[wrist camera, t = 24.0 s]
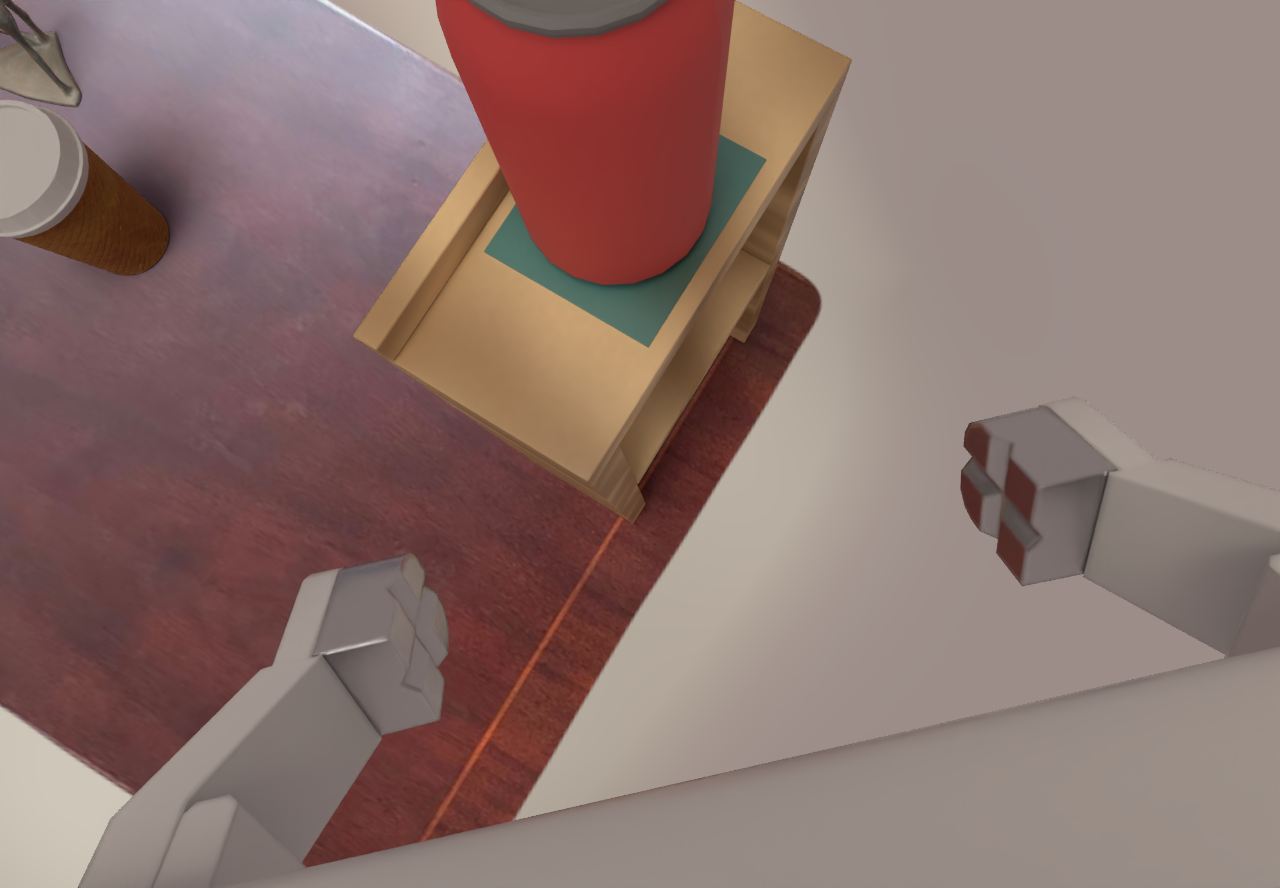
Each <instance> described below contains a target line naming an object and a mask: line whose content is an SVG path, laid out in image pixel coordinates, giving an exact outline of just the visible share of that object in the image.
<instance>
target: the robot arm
mask: <svg viewBox="0 0 1280 888" xmlns="http://www.w3.org/2000/svg"><path fill="white" fill-rule="evenodd" d="M964 447H965V448H966V450H967V451H968V452H969V453H970V454H971V456H972V457H971V459H970V460H969V461H968V463H967V464H966V465H965V466H964V468H963V469H962V470H961V492H962V497H963V501H964V505H965V508H966V510H967V512H968V514H969V516H970V518H971V520H972V521H973V522H974V524H975V525H976V527H977V528H978V529H979V531H981V532H983V533H986V534H987V535H990V536H992V537H994V538H997V539H998V543H997V551H996V553H997V554H998V556H999V557H1000V558H1001V560H1002V561H1003V562H1004V563H1005V565H1006V566H1007V567H1008V569H1009V570H1010V571H1011V573H1012V574H1013V575H1014V576H1015V578H1016V579H1017V580H1018V581H1019V583H1020V584H1021V585H1022V586H1026V585H1031V584H1036V583H1040V582H1046V581H1051V580H1055V579H1061V578H1065V577H1070V576H1075V575H1080V574H1084V576H1083V577H1084V578H1086V579H1088V580H1090V581H1092V582H1094V583H1095V584H1097V585H1099V586H1101V587H1103V588H1105V589H1106V590H1108V591H1110V592H1112V593H1114V594H1115V595H1117V596H1119V597H1121V598H1123V599H1125V600H1126V601H1128V602H1130V603H1132V604H1134V605H1136V606H1137V607H1139V608H1141V609H1143V610H1145V611H1147V612H1148V613H1150V614H1152V615H1154V616H1156V617H1157V618H1159V619H1161V620H1163V621H1165V622H1167V623H1168V624H1170V625H1172V626H1174V627H1176V628H1177V629H1179V630H1181V631H1183V632H1185V633H1187V634H1188V635H1190V636H1192V637H1194V638H1196V639H1198V640H1199V641H1201V642H1203V643H1205V644H1207V645H1209V646H1210V647H1212V648H1214V649H1216V650H1218V651H1219V652H1221V653H1223V654H1225V657H1224V659H1220V660H1216V661H1211V662H1207V663H1203V664H1198V665H1194V666H1189V667H1185V668H1181V669H1177V670H1172V671H1167V672H1163V673H1159V674H1154V675H1150V676H1146V677H1141V678H1137V679H1132V680H1128V681H1124V682H1120V683H1115V684H1110V685H1106V686H1102V687H1097V688H1093V689H1089V690H1085V691H1080V692H1075V693H1071V694H1067V695H1062V696H1058V697H1054V698H1049V699H1045V700H1040V701H1036V702H1032V703H1027V704H1023V705H1019V706H1014V707H1010V708H1006V709H1001V710H997V711H992V712H988V713H984V714H979V715H975V716H971V717H966V718H962V719H958V720H953V721H949V722H945V723H940V724H936V725H932V726H927V727H923V728H919V729H914V730H910V731H905V732H901V733H897V734H893V735H888V736H884V737H879V738H875V739H871V740H866V741H862V742H857V743H853V744H849V745H844V746H840V747H836V748H831V749H827V750H822V751H818V752H813V753H809V754H805V755H800V756H796V757H792V758H787V759H783V760H779V761H774V762H769V763H765V764H761V765H756V766H752V767H748V768H743V769H739V770H734V771H730V772H726V773H721V774H717V775H712V776H708V777H703V778H699V779H695V780H691V781H686V782H681V783H677V784H673V785H668V786H664V787H659V788H655V789H651V790H647V791H642V792H638V793H633V794H629V795H624V796H620V797H615V798H611V799H607V800H603V801H598V802H593V803H589V804H585V805H580V806H576V807H572V808H567V809H563V810H558V811H554V812H550V813H545V814H541V815H536V816H532V817H528V818H523V819H519V820H515V821H510V822H506V823H501V824H497V825H493V826H488V827H484V828H479V829H475V830H471V831H466V832H462V833H458V834H453V835H449V836H444V837H440V838H436V839H431V840H427V841H422V842H418V843H414V844H409V845H405V846H401V847H396V848H392V849H387V850H383V851H379V852H374V853H370V854H365V855H361V856H357V857H352V858H348V859H344V860H339V861H335V862H330V863H326V864H322V865H317V866H313V867H308V868H307V867H306V866H305V865H303V864H302V861H303V860H304V858H305V857H306V855H307V854H308V852H309V851H310V849H311V847H312V846H313V844H314V843H315V841H316V840H317V838H318V837H319V835H320V834H321V832H322V830H323V829H324V827H325V826H326V824H327V823H328V821H329V820H330V818H331V817H332V815H333V813H334V812H335V810H336V809H337V807H338V806H339V804H340V803H341V801H342V800H343V798H344V796H345V795H346V793H347V792H348V790H349V789H350V787H351V786H352V784H353V783H354V781H355V779H356V778H357V776H358V775H359V773H360V772H361V770H362V769H363V767H364V766H365V764H366V762H367V761H368V759H369V758H370V756H371V755H372V753H373V752H374V750H375V749H376V747H377V745H378V744H379V742H380V741H381V739H382V737H381V736H380V735H384V734H388V733H392V732H396V731H400V730H404V729H407V728H411V727H415V726H419V725H423V724H427V723H431V722H434V721H438V720H440V714H441V706H442V698H443V689H444V681H445V680H444V678H443V676H442V674H441V673H440V671H439V669H438V666H439V664H440V663H441V662H442V661H443V659H444V658H445V657H446V655H447V654H448V645H449V631H448V622H447V616H446V613H445V610H444V607H443V604H442V602H441V600H440V598H439V596H438V594H437V592H436V591H434V590H432V589H430V588H428V587H426V586H424V585H423V584H424V578H425V569H424V568H423V566H422V564H421V563H420V561H419V559H418V557H417V556H416V555H414V554H411V553H407V554H403V555H398V556H393V557H388V558H383V559H379V560H374V561H369V562H364V563H360V564H355V565H350V566H345V567H343V568H338V569H334V570H329V571H324V572H319V573H315V574H310V575H309V576H308V577H307V578H306V579H305V580H304V581H303V582H302V584H301V587H300V590H299V593H298V596H297V598H296V601H295V604H294V607H293V610H292V612H291V615H290V618H289V621H288V623H287V626H286V629H285V632H284V635H283V637H282V640H281V643H280V646H279V648H278V651H277V654H276V657H275V660H274V662H273V665H272V666H271V667H267V668H263V669H261V670H260V671H259V672H258V673H257V674H256V675H255V676H254V677H253V678H252V679H251V680H250V681H249V682H248V683H247V684H246V685H245V686H244V687H243V688H242V689H241V690H240V691H239V692H238V693H237V694H236V695H235V696H234V697H233V698H232V699H231V700H230V701H229V702H228V703H227V704H226V705H225V706H224V707H223V708H222V709H221V710H220V711H219V712H218V713H217V714H216V715H215V716H214V717H213V718H211V719H210V720H209V721H208V722H207V723H206V724H205V725H204V726H203V727H202V728H201V729H200V730H199V731H198V732H197V733H196V734H195V735H194V736H193V737H192V738H191V739H190V740H189V741H188V742H187V743H186V744H185V745H184V746H183V747H182V748H181V749H180V750H179V751H178V752H177V753H176V754H175V755H174V756H173V757H172V758H171V759H170V760H169V761H168V762H167V763H166V764H165V765H164V766H163V767H162V768H161V769H160V770H159V771H158V772H157V773H156V774H155V775H154V776H153V777H152V778H151V779H150V780H149V781H148V782H147V783H146V784H145V785H144V786H143V787H142V788H141V789H140V790H139V791H138V792H137V793H136V794H135V795H134V796H133V797H132V798H131V799H130V800H129V801H128V802H127V803H126V804H125V805H124V806H123V807H122V808H121V809H120V810H119V811H118V812H117V813H116V814H115V815H114V816H113V817H112V818H111V819H110V821H109V823H108V825H107V827H106V829H105V832H104V834H103V836H102V838H101V840H100V842H99V844H98V846H97V848H96V850H95V853H94V854H93V857H92V859H91V861H90V863H89V865H88V867H87V869H86V871H85V873H84V875H83V877H82V880H81V882H80V884H79V886H78V888H1280V491H1279V490H1275V489H1272V488H1268V487H1265V486H1262V485H1258V484H1255V483H1251V482H1248V481H1245V480H1241V479H1238V478H1235V477H1231V476H1228V475H1224V474H1221V473H1218V472H1214V471H1211V470H1207V469H1204V468H1201V467H1197V466H1194V465H1191V464H1187V463H1184V462H1181V461H1177V460H1174V459H1166V460H1162V461H1159V460H1157V459H1156V458H1155V457H1154V456H1153V455H1151V454H1150V453H1149V452H1148V451H1147V450H1145V449H1144V448H1143V447H1142V446H1141V445H1139V444H1138V443H1137V442H1136V441H1134V440H1133V439H1132V438H1131V437H1129V436H1128V435H1127V434H1126V433H1125V432H1123V431H1122V430H1121V429H1120V428H1119V427H1117V426H1116V425H1115V424H1114V423H1112V422H1111V421H1110V420H1109V419H1108V418H1106V417H1105V416H1104V415H1103V414H1102V413H1100V412H1099V411H1098V410H1097V409H1095V408H1094V407H1093V406H1092V405H1090V404H1089V403H1088V402H1087V401H1086V400H1084V399H1081V398H1077V397H1071V398H1067V399H1063V400H1059V401H1055V402H1051V403H1047V404H1043V405H1040V406H1038V407H1036V408H1030V409H1026V410H1022V411H1018V412H1013V413H1009V414H1005V415H1001V416H997V417H992V418H989V419H984V420H980V421H976V422H972V423H969V425H968V427H967V429H966V431H965V437H964Z"/></svg>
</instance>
